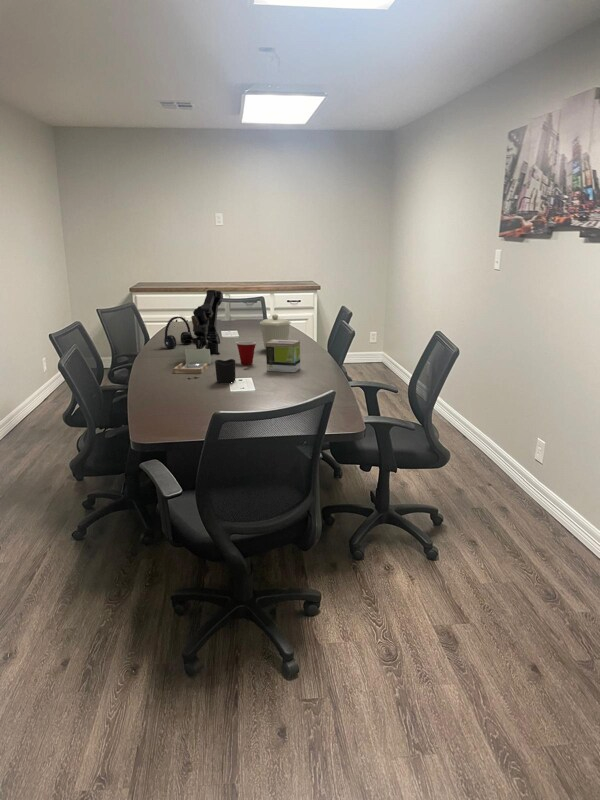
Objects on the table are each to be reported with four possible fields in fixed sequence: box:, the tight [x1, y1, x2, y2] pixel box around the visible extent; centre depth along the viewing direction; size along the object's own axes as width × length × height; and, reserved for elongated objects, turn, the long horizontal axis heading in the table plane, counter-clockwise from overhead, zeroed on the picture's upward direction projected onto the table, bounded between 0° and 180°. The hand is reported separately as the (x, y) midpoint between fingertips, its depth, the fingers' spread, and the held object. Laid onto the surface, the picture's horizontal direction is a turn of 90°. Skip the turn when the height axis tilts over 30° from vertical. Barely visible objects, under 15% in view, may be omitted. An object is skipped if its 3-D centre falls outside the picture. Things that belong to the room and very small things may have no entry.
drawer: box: [181, 348, 212, 369], centre depth 281 cm, size 14×13×9 cm
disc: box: [187, 362, 202, 368], centre depth 282 cm, size 8×8×2 cm
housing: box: [172, 362, 209, 374], centre depth 276 cm, size 14×14×3 cm
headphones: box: [163, 316, 193, 349], centre depth 336 cm, size 20×7×18 cm, turn 148°
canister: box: [259, 314, 292, 350], centre depth 322 cm, size 18×18×21 cm
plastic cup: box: [235, 340, 257, 366], centre depth 290 cm, size 11×11×12 cm
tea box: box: [265, 339, 301, 373], centre depth 277 cm, size 15×10×15 cm
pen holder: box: [214, 358, 236, 384], centre depth 257 cm, size 9×9×10 cm
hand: (198, 352), depth 287 cm, fingers closed, pressing on drawer
